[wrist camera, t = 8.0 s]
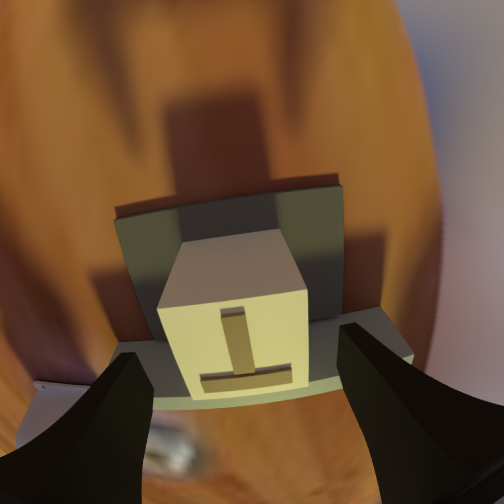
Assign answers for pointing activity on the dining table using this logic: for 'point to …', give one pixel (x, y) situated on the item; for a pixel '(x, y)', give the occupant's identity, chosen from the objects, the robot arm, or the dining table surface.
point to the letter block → (237, 316)
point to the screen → (319, 381)
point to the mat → (239, 222)
